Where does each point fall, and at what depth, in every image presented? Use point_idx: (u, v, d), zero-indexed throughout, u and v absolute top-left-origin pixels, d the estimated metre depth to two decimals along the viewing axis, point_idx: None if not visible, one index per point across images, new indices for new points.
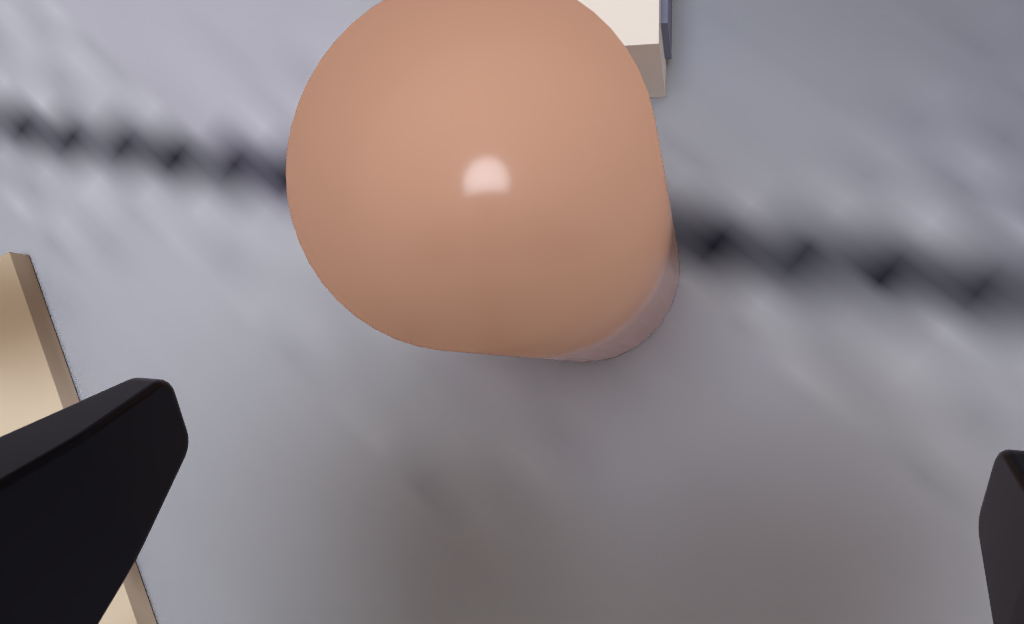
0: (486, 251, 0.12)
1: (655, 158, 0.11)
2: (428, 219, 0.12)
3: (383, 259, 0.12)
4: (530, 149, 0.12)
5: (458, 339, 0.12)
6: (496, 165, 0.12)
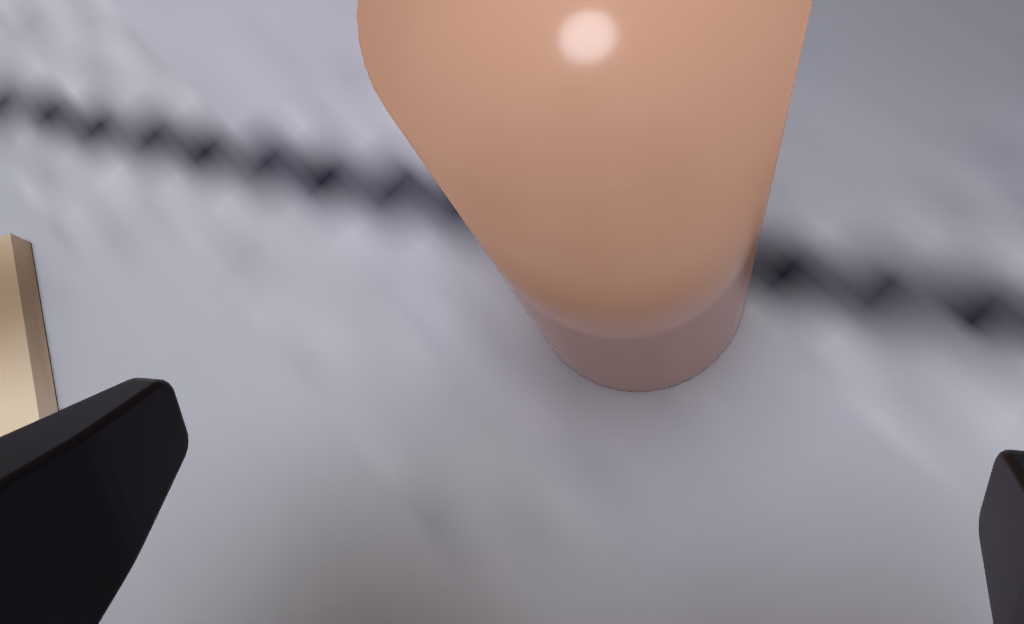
0: (597, 78, 0.09)
1: None
2: (528, 42, 0.10)
3: (466, 86, 0.10)
4: None
5: (553, 179, 0.09)
6: None
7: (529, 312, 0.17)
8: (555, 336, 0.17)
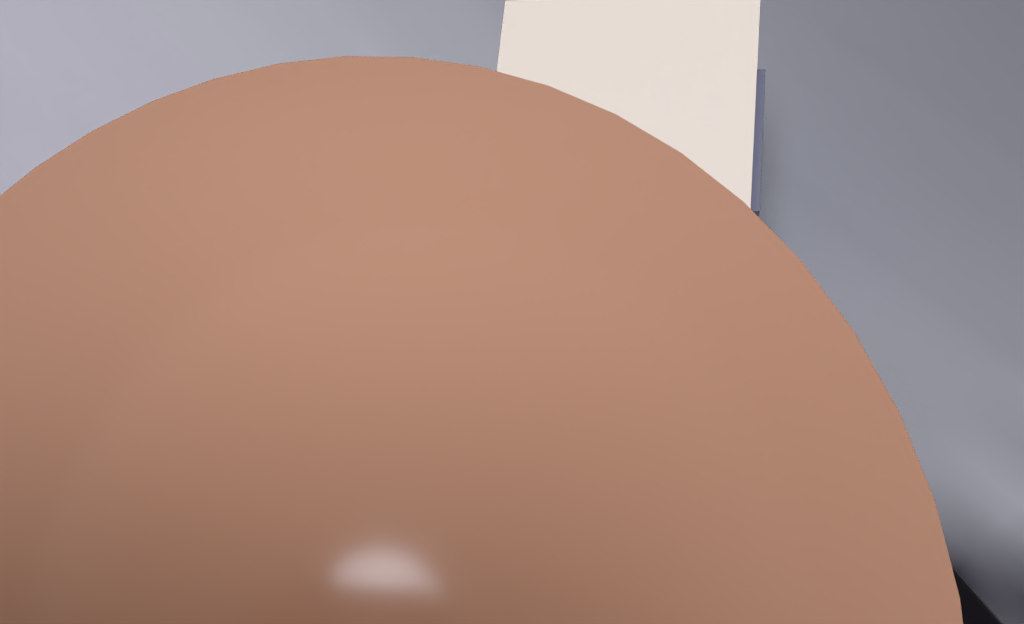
0: None
1: None
2: None
3: None
4: None
5: None
6: None
7: None
8: None
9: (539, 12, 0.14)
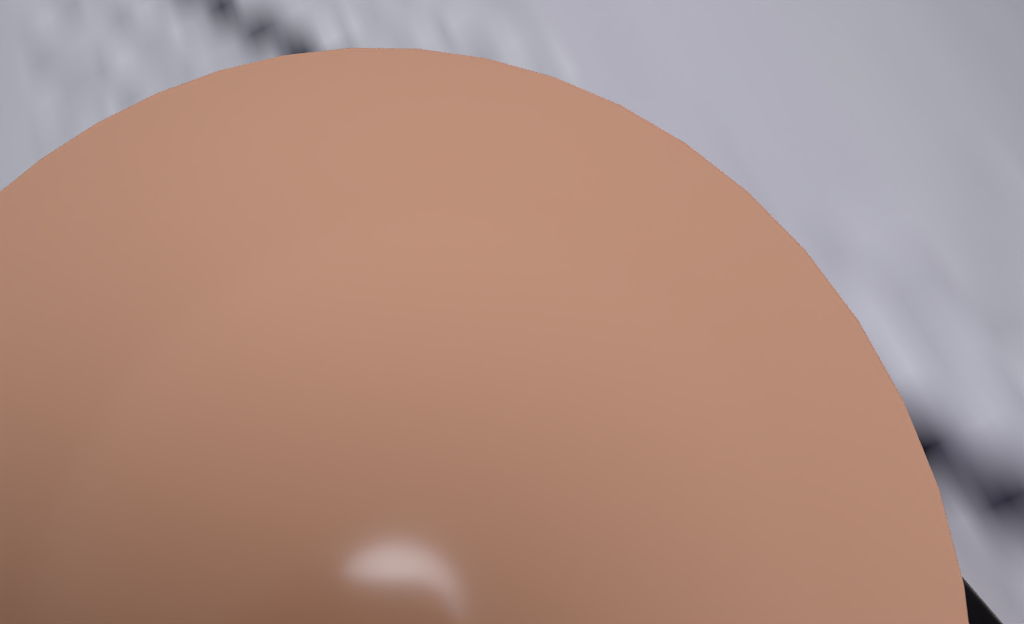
0: None
1: None
2: None
3: None
4: (506, 623, 0.03)
5: None
6: None
7: None
8: None
9: None
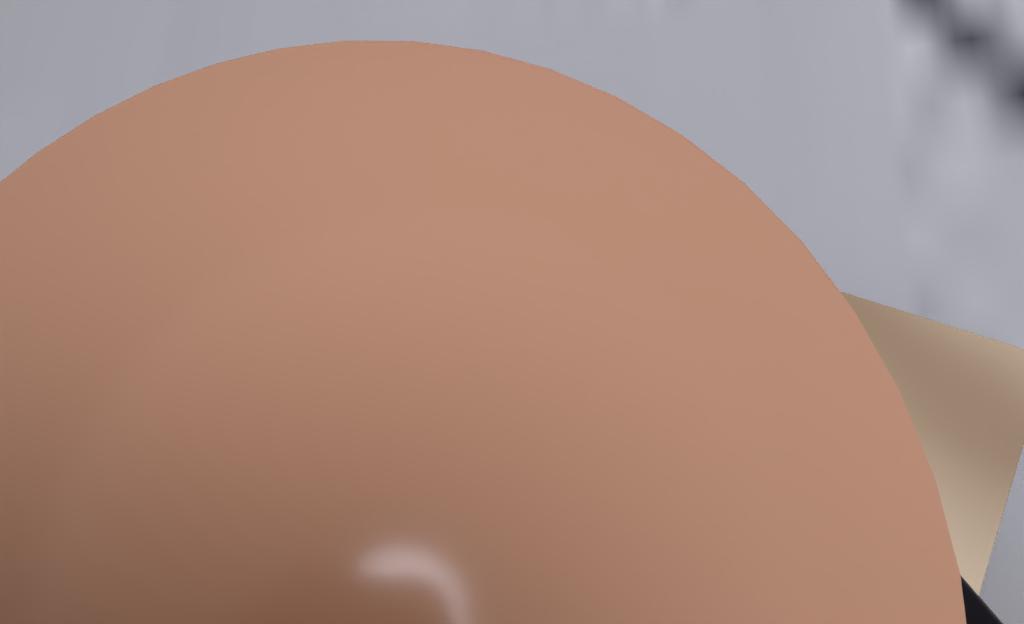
0: None
1: None
2: None
3: None
4: (504, 613, 0.03)
5: None
6: None
7: None
8: None
9: None
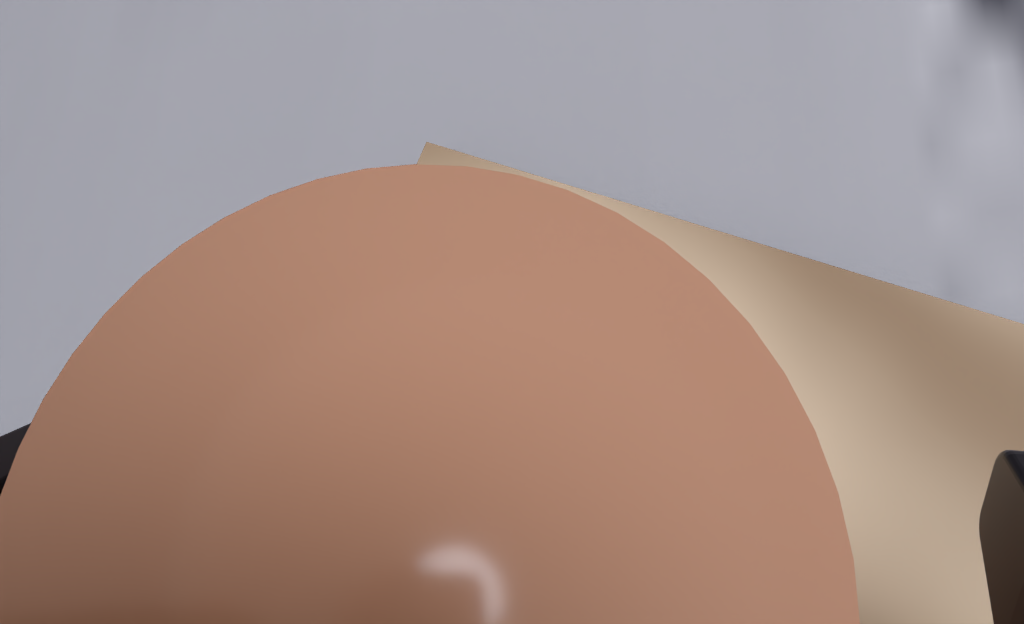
0: None
1: None
2: None
3: None
4: (537, 589, 0.05)
5: None
6: (448, 620, 0.05)
7: None
8: None
9: None
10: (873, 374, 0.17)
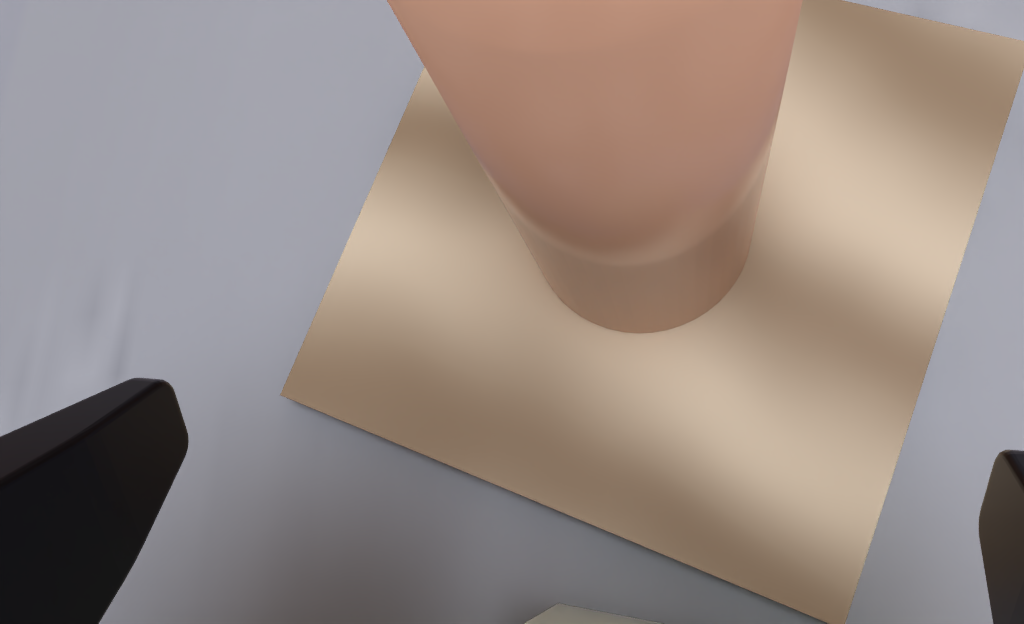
0: None
1: None
2: None
3: None
4: None
5: (552, 38, 0.08)
6: None
7: (528, 240, 0.16)
8: (555, 266, 0.17)
9: None
10: (857, 75, 0.21)
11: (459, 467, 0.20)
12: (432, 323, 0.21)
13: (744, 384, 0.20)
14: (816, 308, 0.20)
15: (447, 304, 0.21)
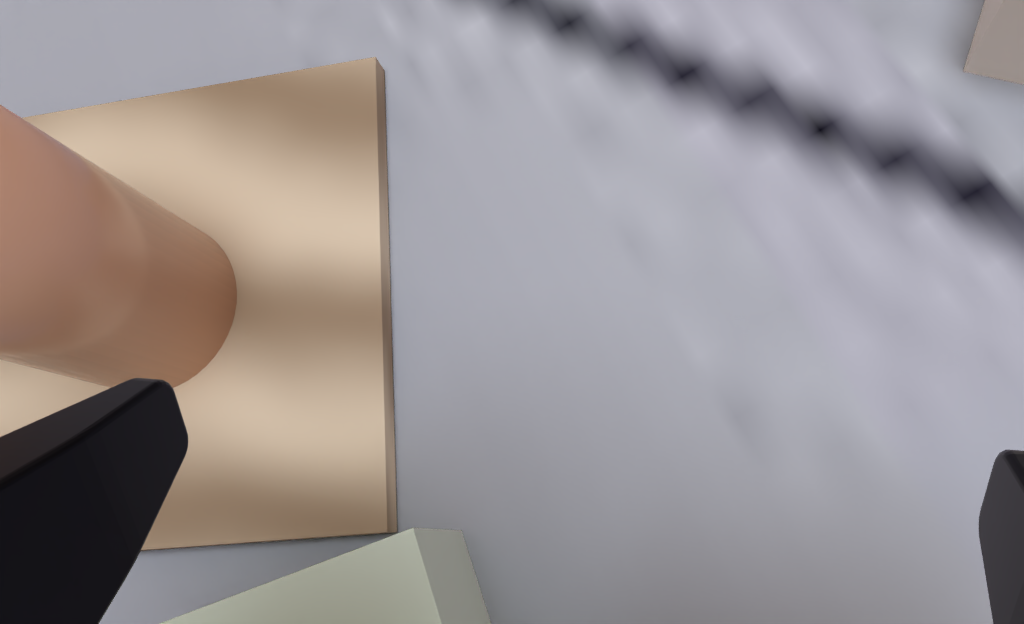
0: None
1: None
2: None
3: None
4: None
5: None
6: None
7: None
8: (31, 367, 0.21)
9: None
10: (269, 128, 0.26)
11: None
12: None
13: (264, 386, 0.24)
14: (295, 307, 0.25)
15: None
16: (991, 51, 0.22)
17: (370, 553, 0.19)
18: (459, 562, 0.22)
